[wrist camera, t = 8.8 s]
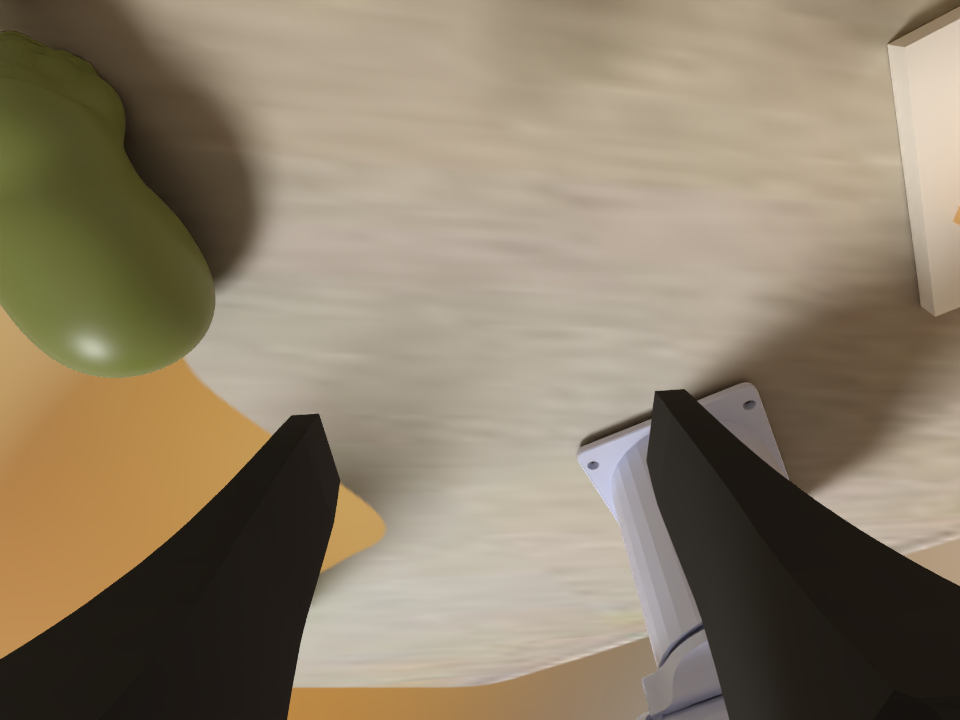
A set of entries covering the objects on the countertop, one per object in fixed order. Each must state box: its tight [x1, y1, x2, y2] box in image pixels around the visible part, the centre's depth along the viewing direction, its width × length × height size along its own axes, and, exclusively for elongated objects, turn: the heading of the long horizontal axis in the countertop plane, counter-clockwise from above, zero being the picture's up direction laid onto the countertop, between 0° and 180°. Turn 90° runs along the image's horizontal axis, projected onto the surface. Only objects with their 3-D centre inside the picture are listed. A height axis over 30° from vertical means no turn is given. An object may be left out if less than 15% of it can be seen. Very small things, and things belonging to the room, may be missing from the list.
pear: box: [0, 31, 215, 378], centre depth 17 cm, size 6×5×10 cm
